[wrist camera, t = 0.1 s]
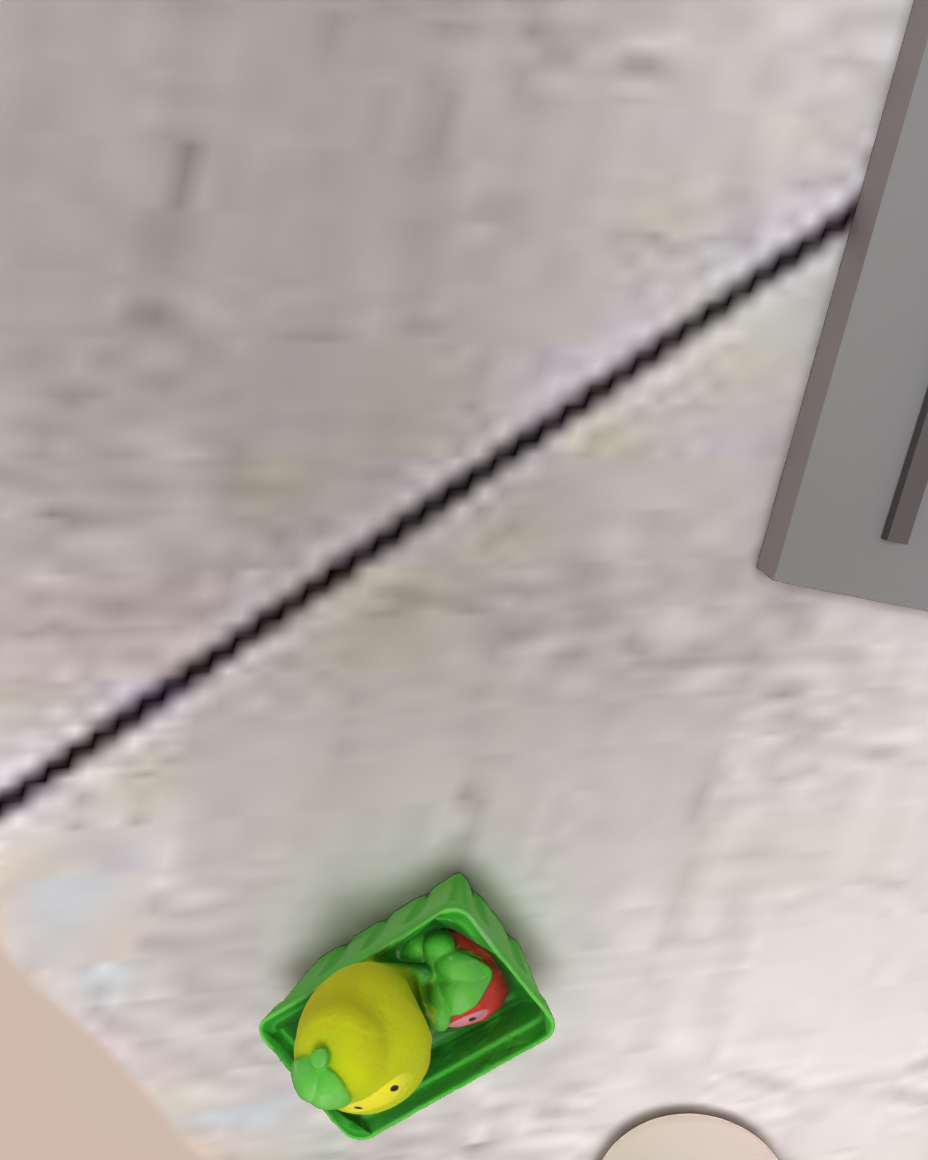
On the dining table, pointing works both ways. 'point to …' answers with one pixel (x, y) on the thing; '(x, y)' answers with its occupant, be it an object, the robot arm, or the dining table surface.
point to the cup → (689, 1140)
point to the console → (869, 381)
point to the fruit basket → (408, 1012)
